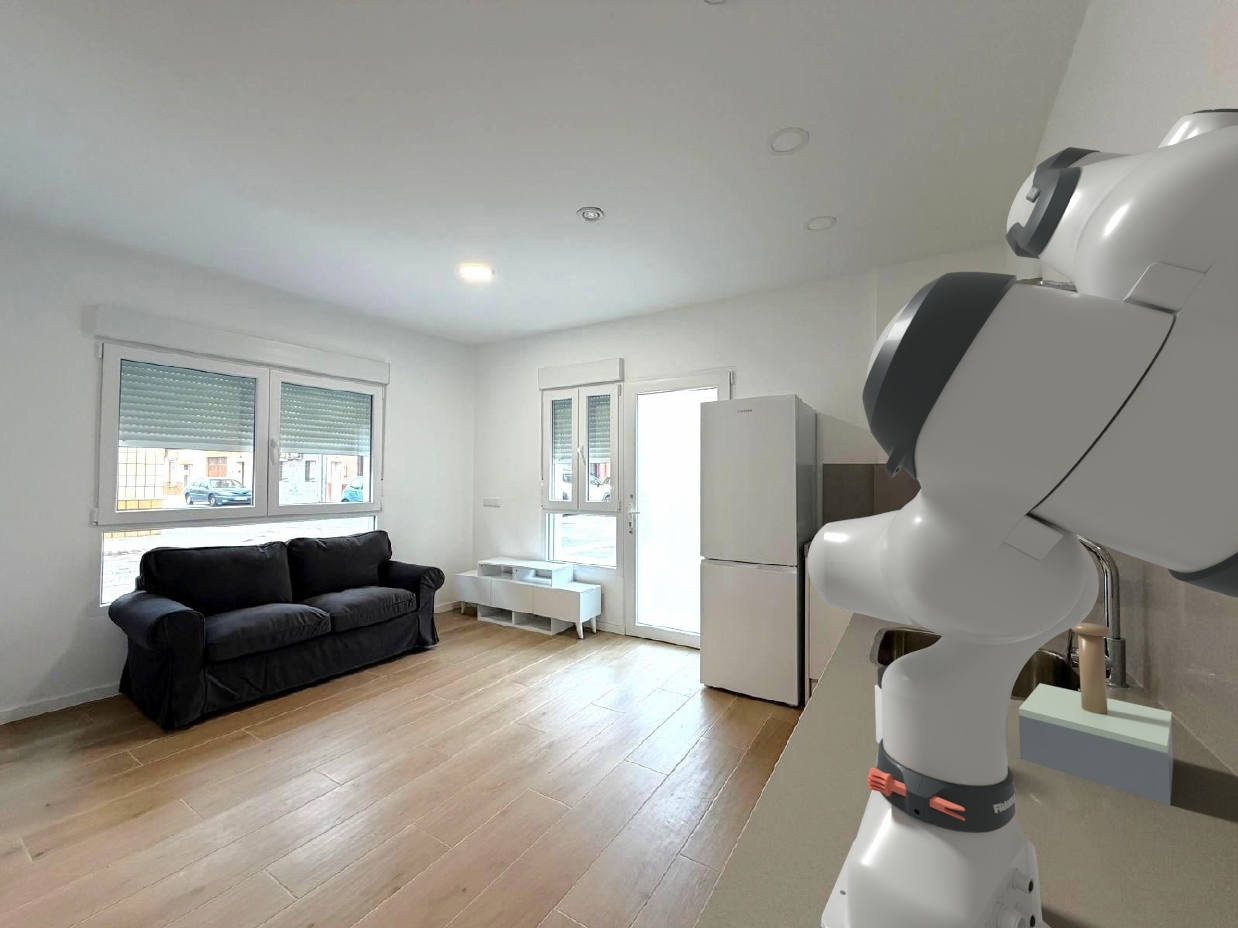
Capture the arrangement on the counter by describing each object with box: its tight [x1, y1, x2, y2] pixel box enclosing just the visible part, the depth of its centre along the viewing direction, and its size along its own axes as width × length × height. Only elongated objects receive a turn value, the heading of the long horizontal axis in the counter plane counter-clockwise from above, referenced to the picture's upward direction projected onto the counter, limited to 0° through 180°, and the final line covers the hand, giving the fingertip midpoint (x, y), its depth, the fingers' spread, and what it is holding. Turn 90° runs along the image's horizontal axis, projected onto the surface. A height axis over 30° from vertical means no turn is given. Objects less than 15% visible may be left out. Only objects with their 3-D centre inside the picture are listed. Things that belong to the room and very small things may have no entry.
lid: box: [1018, 621, 1173, 754], centre depth 80 cm, size 16×16×15 cm
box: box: [1018, 714, 1174, 806], centre depth 80 cm, size 16×16×7 cm
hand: (1064, 393), depth 66 cm, fingers open, 8 cm apart
